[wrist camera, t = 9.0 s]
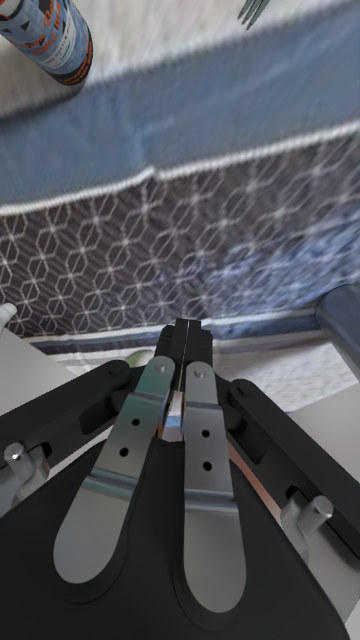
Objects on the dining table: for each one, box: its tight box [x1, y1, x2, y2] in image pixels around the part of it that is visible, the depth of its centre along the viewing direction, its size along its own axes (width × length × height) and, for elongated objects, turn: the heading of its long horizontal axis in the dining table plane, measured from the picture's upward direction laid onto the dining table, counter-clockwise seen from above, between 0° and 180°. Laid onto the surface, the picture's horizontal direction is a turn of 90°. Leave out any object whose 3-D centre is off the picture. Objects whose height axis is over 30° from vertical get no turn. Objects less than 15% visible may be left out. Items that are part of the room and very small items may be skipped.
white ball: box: [136, 351, 155, 367], centre depth 45 cm, size 6×6×6 cm
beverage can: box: [0, 0, 93, 86], centre depth 19 cm, size 6×7×12 cm
